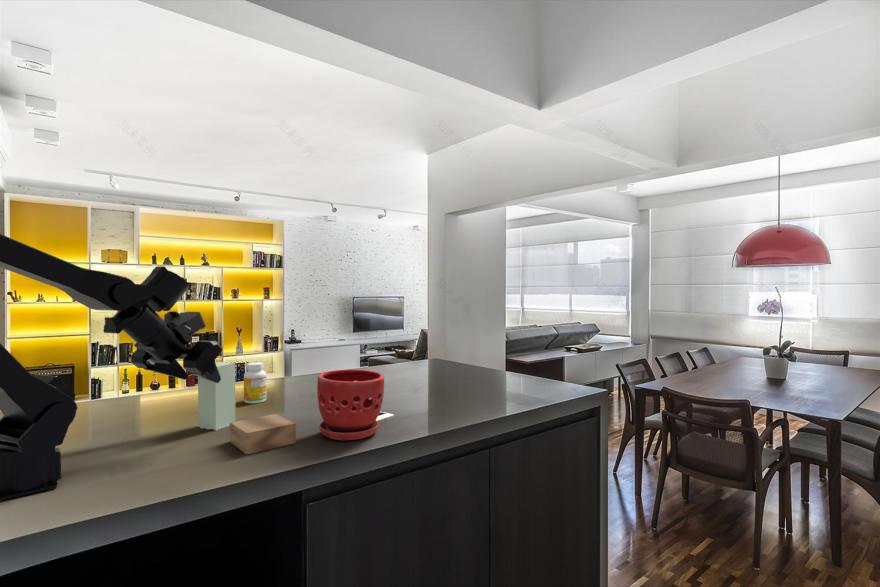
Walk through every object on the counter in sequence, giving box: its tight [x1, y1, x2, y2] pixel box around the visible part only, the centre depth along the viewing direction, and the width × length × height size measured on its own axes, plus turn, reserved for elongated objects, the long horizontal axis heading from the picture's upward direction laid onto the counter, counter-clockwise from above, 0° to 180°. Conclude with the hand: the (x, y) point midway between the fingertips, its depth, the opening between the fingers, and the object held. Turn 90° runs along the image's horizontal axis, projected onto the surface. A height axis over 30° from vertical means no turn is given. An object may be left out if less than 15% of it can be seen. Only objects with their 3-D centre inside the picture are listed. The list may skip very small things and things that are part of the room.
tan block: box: [229, 413, 297, 455], centre depth 87 cm, size 9×9×4 cm
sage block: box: [197, 361, 236, 431], centre depth 97 cm, size 5×5×13 cm
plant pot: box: [316, 369, 385, 441], centre depth 91 cm, size 13×13×12 cm
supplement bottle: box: [243, 361, 268, 404], centre depth 118 cm, size 5×5×10 cm
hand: (202, 379), depth 94 cm, fingers open, 9 cm apart
